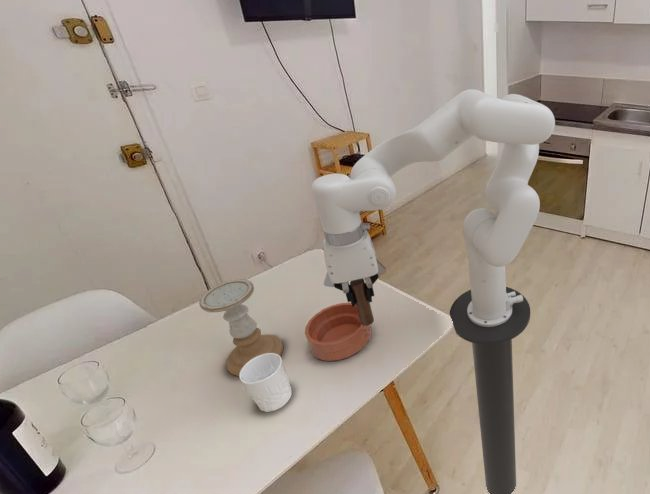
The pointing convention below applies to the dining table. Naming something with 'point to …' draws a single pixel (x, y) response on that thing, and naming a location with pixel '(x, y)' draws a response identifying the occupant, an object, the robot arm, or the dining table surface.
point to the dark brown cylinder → (362, 302)
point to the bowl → (336, 332)
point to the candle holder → (239, 323)
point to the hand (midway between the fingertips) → (361, 300)
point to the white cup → (266, 381)
